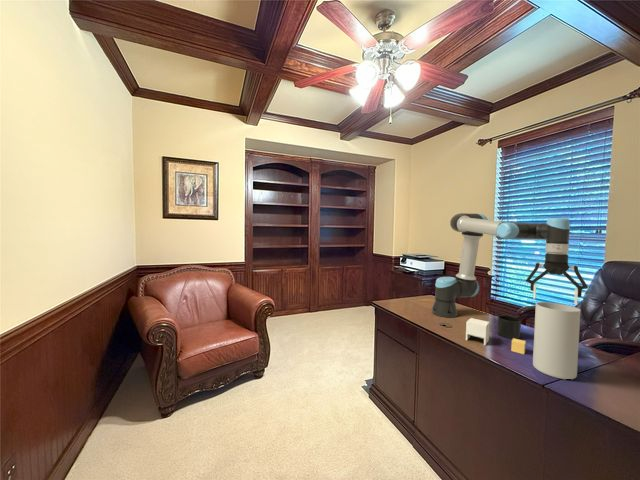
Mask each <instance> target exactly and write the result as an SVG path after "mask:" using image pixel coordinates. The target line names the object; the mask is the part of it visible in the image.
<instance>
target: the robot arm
mask: <svg viewBox="0 0 640 480" xmlns="http://www.w3.org/2000/svg"><path fill="white" fill-rule="evenodd" d="M449 223H450V224H449V225H450V227H451V229H452V230H453V231H454V232H459V233H461V235H462V236H463V240H462V241H463V242H462V249H461V255H460V263H459V268H458V269H459V271H458V272H457V274H455V277H453V276H440V277H438V278H436V280H435V283H434V285H435V290H434V303H433V305H432V307H431V313H432V314H433V315H434V316H435V315H436V316H439V317H444V318H457V317H458V315H459V312H458V308H457V304H456V298H471V297H475V296H476V295H478V294H479V291H480V284H479V281H478V280H477V277H476V276H475V270H476V263H477V259H478V257H477V256H478V250H479V245H480V239H481V238H483V236H484V235H489V236H493V237H494V236H495V237H499V238H502V239H506V240H511V239H514V240H545V255H544V263H540V262H536V263H535V266H534V269H533V270H532V271H531V273H530V274H529V275H528V277H526V279H525V282H527V283H528V284H530V289H529V290H530V291H531V292H533V294H532V298H533V299H536V298H537V297H536V296H537V295H536V294H537V282H538V281H539V280H540V279H542V278H543V277H544V276H546V275H547V274H550V275H559V276H561V275H563V276H564V277H566V278H567V280H569V281H570V283H572V285H574V286H575V288H574V302H573V304H574V305H575V306H578V298H581V297H582V292H583V290H586V289H589V286H588V285H587V283H586V281H585V280H584V278H583V276H582V275H581V273H580V271H579V266H578V265H577V264H576V265H569V255H568V253H569V251H570V250H569V249H570V244H569V243H570V231H571V225H570V223H571V222H570V219H569V218H566V217H560V218H559V217H554V218H553V217H552V218H547V219H546V222H544V223H543V222H542V223H541V222H538V223H537V222H536V223H535V222H534V223H532V222H509V221H502V220H501V221H500V220H491V219H489V218H487V216H486V215H485V214H482V213H465V212H464V213H463V212H462V213H456V214H455V215H454V216H453V217H451V219H450V221H449ZM542 267H543V268H544V269H545V270H544V271H542V272H541V273H540V274H539V275H537V276H536V277H535V278H534V279H532V278H533V276H534V275H535V274H536V273H537V272H538V270H539V269H541V268H542ZM569 269H571V271H572V272H574V273H575V275H576V277H577V279H578V281H579V282H580V284H581V285H580V284H579V283H578V282H577V281H576V280H575V279H574V278H573V277H572V276H571V275H570V274H569V273H568V272H567V271H568V270H569ZM531 279H532V280H531Z"/></svg>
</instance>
